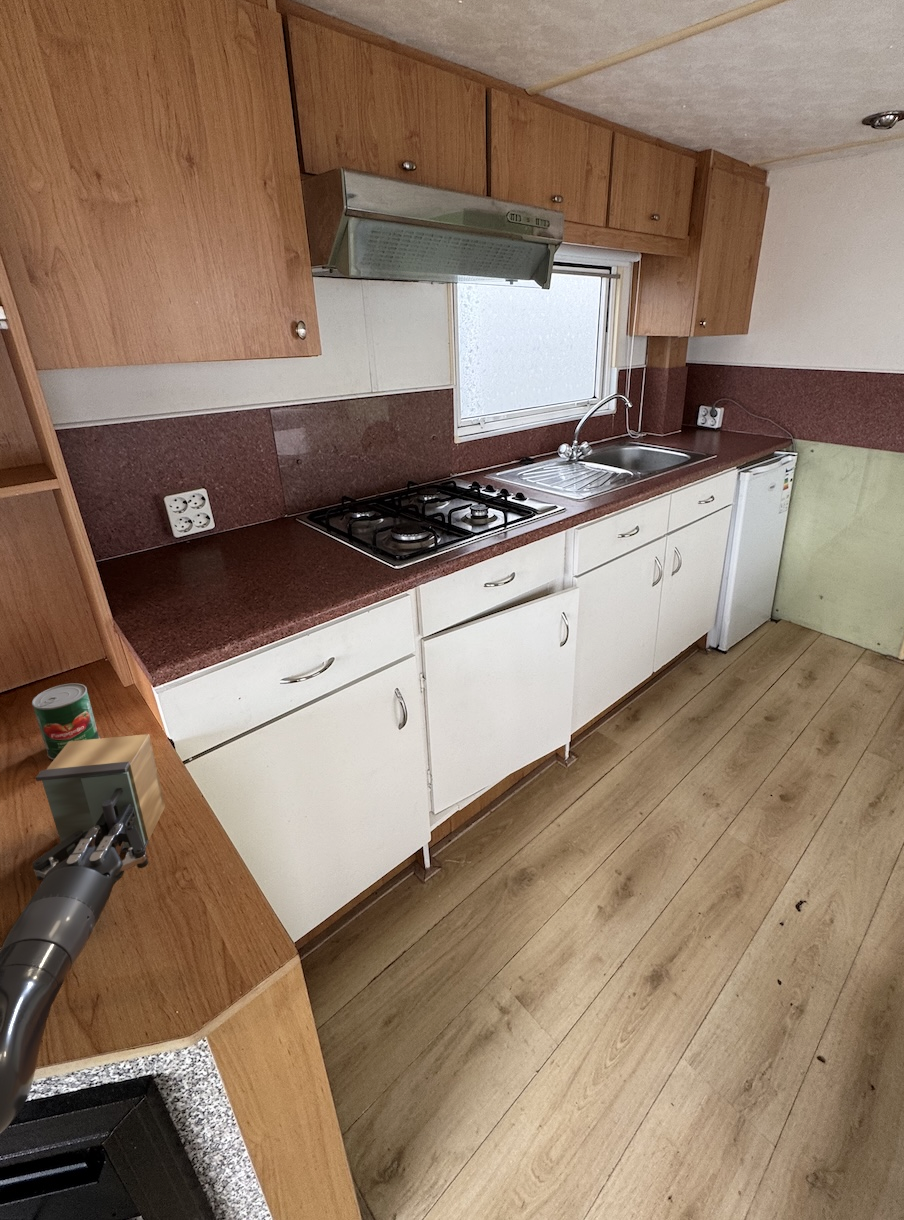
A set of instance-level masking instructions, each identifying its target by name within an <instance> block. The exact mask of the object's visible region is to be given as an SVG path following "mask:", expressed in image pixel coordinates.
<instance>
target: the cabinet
mask: <svg viewBox="0 0 904 1220" xmlns="http://www.w3.org/2000/svg"><path fill="white" fill-rule="evenodd" d="M52 760H53V759H52ZM123 772H129V777H130V781H131V785H132V789H133V793H134V797H135V801H136V805H137V809H138V814H139V818H140V822H141V826H142V830H143V834H144V838H145V842H146V844H145V846H144V847H145V849H146V848H147V846H148V843H149V841H150V839H151V837H152V836H153V833H154V831H155V829H156V827H157V825H158V823H159V821H160V819H161V816H162V815H163V813H164V810H165V808H166V804H165V800H164V795H163V791H162V786H161V781H160V777H159V773H158V769H157V763H156V759H155V755H154V750H153V745H152V740H151V736H150V734H149V733H146V734H145V733H144V734H135V735H125V736H124V735H123V736H112V737H103V738H101V737H100V739H90V740H78V741H69V742H68V743H67V744H66V746H65V747H64V748H63V749H62V750H61V752H60V753H59V754H58V755H57V757H56V758H55V759H54V760H53V761H51V763H50V764H49V765H48V766H47V767H46V769H41V770H40V772H39V773H38V774H37V775H36V776H35V782H41V783H42V785H43V789H44V793H45V795H46V796H45V797H46V799H47V803H48V806H49V808H50V811H51V812H50V813H51V816H52V818H53V822H54V824H55V828H56V832H57V834H58V837H59V841H60V842H62V841H63V840H65V839H66V838H68V837H69V836H70V835H72V834H73V833H75V832H76V831H80V830H81V831H83V833H84V832H87V831H89V829H90V828H91V827H93V826H94V824H93V820H92V817H91V813H90V809H89V806H88V802H87V799H86V795H85V791H84V788H83V784H82V781H81V778H82V777H83V776H93V775H103V774H113V773H123ZM74 846H75V845H74V844H73V845H71V846H70V847H68V849H67V852H68V851H69V850H70V849H72V848H73V847H74ZM128 849H129V848H123V850H121V851H120V854H122V853H123V854H124V853H127V852H128Z"/></svg>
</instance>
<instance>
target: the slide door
mask: <svg viewBox="0 0 904 1220" xmlns="http://www.w3.org/2000/svg"><path fill="white" fill-rule="evenodd" d="M81 781H82V784H83V788H84V791H85V795H86V799H87V802H88V806H89V809H90V813H91V817H92V820H93V824H94V826H95V825H96V823H97V821H98V820H99V818H100V816H101V815H102V813H104V817H105V821H106V824H107V828H108V832H110V830H111V829H112V827H113V826H114V822H115V820H116V815H115V811H114V806H117V810H118V813H120V812H121V810H122V808H123V806H124V805H128V804H131V806H132V808H134V812H135V820H134V822H133V823H132V825H135V826H136V828H137V831H138V833H139V835H140V838H141V840H142V842H143V845H144V846H145V844H146V842H145V838H144V834H143V830H142V826H141V822H140V818H139V814H138V809H137V805H136V801H135V797H134V793H133V789H132V785H131V781H130V777H129V772H123V773H113V774H103V775H93V776H83V777H82V778H81ZM123 848H130V846H129V844H128V842H124V844H123V846H122V848H121V850H123Z"/></svg>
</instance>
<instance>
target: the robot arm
mask: <svg viewBox="0 0 904 1220" xmlns="http://www.w3.org/2000/svg"><path fill="white" fill-rule="evenodd" d="M114 811H115V815H116V820H115V822H114V826H113V827H112V829H111V830H110V832H108V828H107V824H106V821H105V817H104V813H102V815H101V816H100V818H99V820H98V821H97V823H96V825H95V826H93V827H91V828H90V829H89V831H87V832H84V833H83V831H81V830H80V831H76V832H75V833H73V834H72V835H70V836H69V837H68V838H66V839H65V840H63V841H62V842H61V841H60V842H59V843H58V844H56V845H54V846H53V847H52V848H50V849H49V850H48V851H46V852H45V853H44V854H42V855H41V856H39V857H38V858H36V859H35V860H34V861H33V862H32V863H31V864H32V868H33V872H34V874H35V877H36V879H37V881H38V882H41V883H40V884H39V886H38V887H37V889H36V890H35V892H34V893H33V895H32V897H31V898H30V899H29V901H28V902H27V904H26V906H25V907H24V909H23V910H22V912H21V913H20V915H19V917H18V918H17V920H16V921H15V923H14V924H13V926H12V927H11V929H10V930H9V932H8V933H7V936H6V937H5V939H4V942H3V943H2V946H1V948H0V1134H3V1132H4V1131H5V1130H6V1129H7V1128H8V1127H9V1126H10V1125H11V1124H12V1122H13V1121H14V1120H15V1119H16V1118H17V1116H18V1115H19V1113H20V1112H21V1110H22V1109H23V1107H24V1106H25V1104H26V1101H27V1100H28V1097H29V1095H30V1093H31V1090H32V1086H33V1082H34V1078H35V1073H36V1069H37V1063H38V1058H39V1054H40V1050H41V1044H42V1042H43V1041H42V1040H43V1037H44V1033H45V1028H46V1025H47V1022H48V1019H49V1018H48V1017H49V1014H50V1011H51V1008H52V1005H53V1004H54V1002H55V1000H56V998H57V995H58V994H59V991H60V990H61V988H62V986H63V984H64V982H65V980H66V978H67V976H68V975H69V972H70V970H71V969H72V967H73V965H74V964H75V962H76V961H77V959H78V958H79V956H80V955H81V953H82V952H83V950H84V948H85V946H86V944H87V942H88V940H89V938H90V936H91V935H92V934H93V931H94V929H95V926H96V924H97V923H98V921H99V918H100V917H101V914H102V913H103V911H104V909H105V907H106V904H107V903H108V901H109V899H110V897H111V893H112V890H113V887H114V885H115V884H117V882H118V881H119V880H120V879H121V878H122V877H123V876H124V874H125V871H127V870H130V869H132V868H134V867H137V868H138V869H143V868H145V867H146V866H148V864H149V860H148V856H147V852H146V848H145V847H144V845H143V842H142V840H141V838H140V835H139V833H138V831H137V828H136V826H135V825H132V823H133V822H134V820H135V812H134V808H132V806H131V804H128V805H124V806H123V808H122V810H121V812H120V813H118V810H117V806H114ZM124 842H128V844H129V846H130V848H129V849H128V852H125V857H124V858H123V859H121V857H120V855H121V853H120V851H121V848H122V846H123V844H124ZM73 844H74V845H75V846H74V847H73V848H72V849H70V850H69V851H68V852H67V849H68V847H70V846H71V845H73Z"/></svg>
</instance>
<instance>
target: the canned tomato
mask: <svg viewBox="0 0 904 1220" xmlns="http://www.w3.org/2000/svg"><path fill="white" fill-rule="evenodd" d="M31 706H32V707H33V710H34V714H35V718H36V722H37V725H38V728H39V731H40V734H41V737H42V741H43V744H44V748H45V750H46V754H47V758H48V759H51V760H54V759H55V758H56V757H57V755H58V754H59V753H60V752H61V750H62V749H63V748H64V747H65V746H66V744H67V743H68V742H69V741H78V740H90V739H101V737H100V735H99V731H98V728H97V727H98V726H97V724H96V721H95V716H94V712H93V708H92V704H91V700H90V697H89V693H88V688H87V686H86V685H85V684H82V683H76V682H75V683H74V682H72V683H65V684H59V685H56V686H52V687H50V688H48V689H45V690H43V691H42V692H40V693H38V694H37V695H36V696H34V697H33V699H32V701H31Z"/></svg>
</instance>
